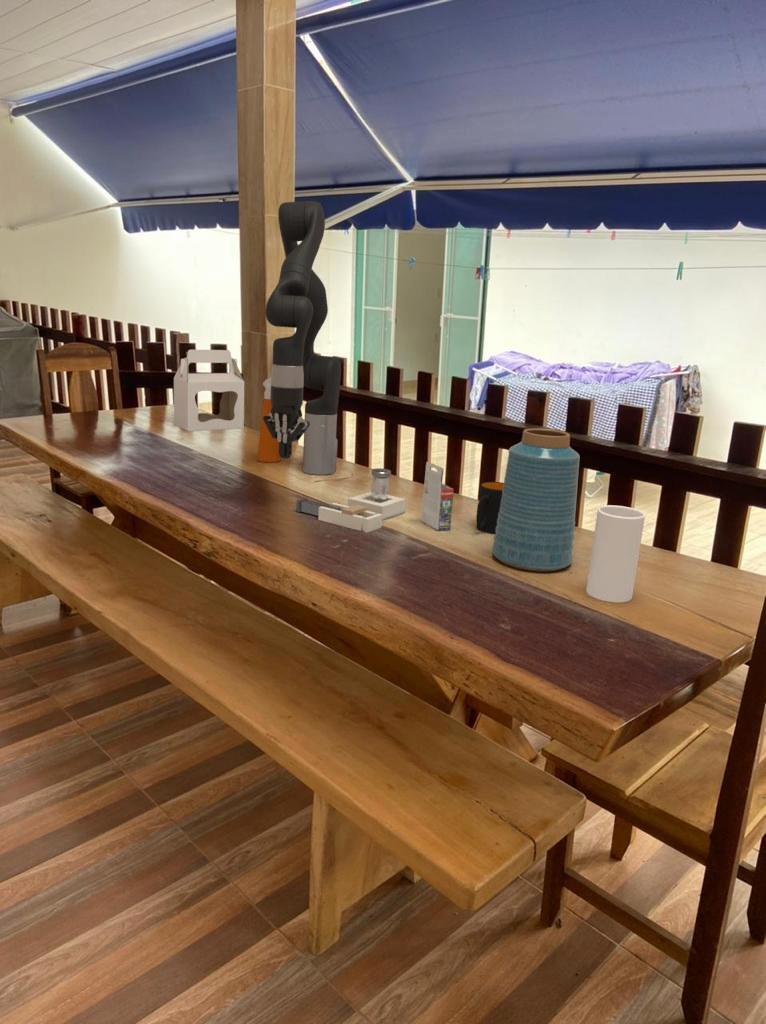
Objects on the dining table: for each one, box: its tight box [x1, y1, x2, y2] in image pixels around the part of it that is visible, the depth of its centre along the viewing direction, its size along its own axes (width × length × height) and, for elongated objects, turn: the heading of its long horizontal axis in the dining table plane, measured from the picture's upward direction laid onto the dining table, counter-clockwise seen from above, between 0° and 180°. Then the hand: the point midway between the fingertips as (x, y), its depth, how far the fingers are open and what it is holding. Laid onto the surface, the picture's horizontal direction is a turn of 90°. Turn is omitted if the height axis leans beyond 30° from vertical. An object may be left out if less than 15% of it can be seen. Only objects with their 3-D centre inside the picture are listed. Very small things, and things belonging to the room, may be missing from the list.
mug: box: [475, 481, 504, 535], centre depth 178 cm, size 8×12×10 cm
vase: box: [491, 428, 581, 573], centre depth 157 cm, size 16×16×27 cm
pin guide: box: [317, 502, 383, 534], centre depth 177 cm, size 6×14×4 cm, turn 56°
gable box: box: [173, 349, 245, 432], centre depth 283 cm, size 22×13×28 cm, turn 125°
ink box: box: [421, 461, 454, 532], centre depth 179 cm, size 4×8×15 cm, turn 26°
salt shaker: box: [370, 467, 392, 503], centre depth 186 cm, size 5×5×10 cm
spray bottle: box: [256, 376, 281, 464], centre depth 233 cm, size 7×11×26 cm, turn 41°
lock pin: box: [295, 497, 340, 516], centre depth 182 cm, size 3×11×3 cm, turn 56°
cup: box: [585, 504, 646, 604], centre depth 142 cm, size 8×8×16 cm
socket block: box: [347, 491, 407, 522], centre depth 188 cm, size 10×10×4 cm
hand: (284, 457), depth 185 cm, fingers closed
